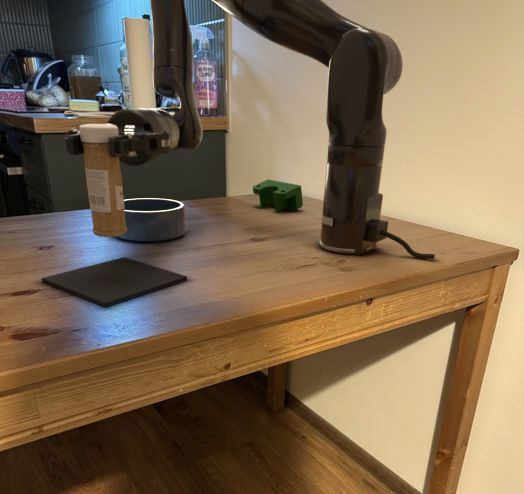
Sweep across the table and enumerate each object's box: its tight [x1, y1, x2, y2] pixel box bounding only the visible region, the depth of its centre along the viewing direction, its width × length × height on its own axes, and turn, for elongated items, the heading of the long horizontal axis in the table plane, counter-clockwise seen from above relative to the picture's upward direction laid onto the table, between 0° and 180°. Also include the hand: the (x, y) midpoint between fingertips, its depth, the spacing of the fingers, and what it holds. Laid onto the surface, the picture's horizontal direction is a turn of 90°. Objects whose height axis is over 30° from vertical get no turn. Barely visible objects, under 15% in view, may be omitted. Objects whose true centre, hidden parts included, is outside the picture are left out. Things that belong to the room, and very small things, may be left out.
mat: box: [41, 256, 188, 308], centre depth 70 cm, size 14×14×1 cm
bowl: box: [117, 197, 186, 243], centre depth 93 cm, size 13×13×6 cm
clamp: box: [252, 179, 304, 213], centre depth 119 cm, size 12×6×9 cm, turn 37°
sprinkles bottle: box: [78, 123, 127, 238], centre depth 64 cm, size 5×5×13 cm
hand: (91, 146), depth 60 cm, fingers closed on sprinkles bottle, 4 cm apart
